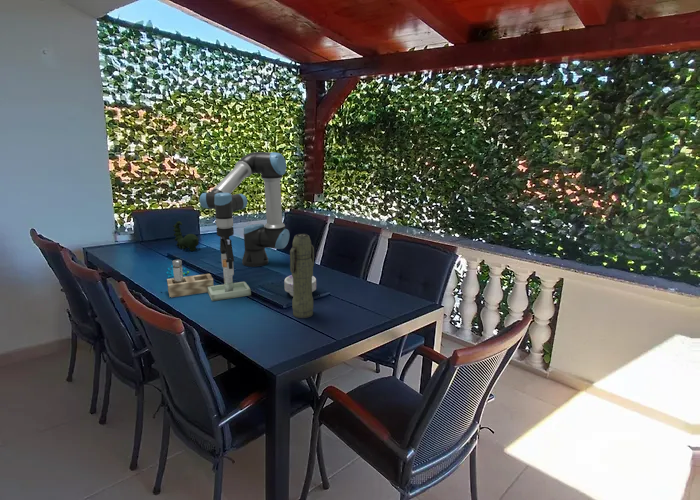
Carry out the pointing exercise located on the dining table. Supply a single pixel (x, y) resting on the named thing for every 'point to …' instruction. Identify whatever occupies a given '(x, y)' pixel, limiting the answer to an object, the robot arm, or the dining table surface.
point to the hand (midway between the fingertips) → (227, 270)
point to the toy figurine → (185, 238)
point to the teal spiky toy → (173, 272)
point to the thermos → (302, 275)
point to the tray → (220, 294)
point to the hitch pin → (227, 278)
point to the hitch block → (190, 285)
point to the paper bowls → (289, 284)
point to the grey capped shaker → (178, 271)
